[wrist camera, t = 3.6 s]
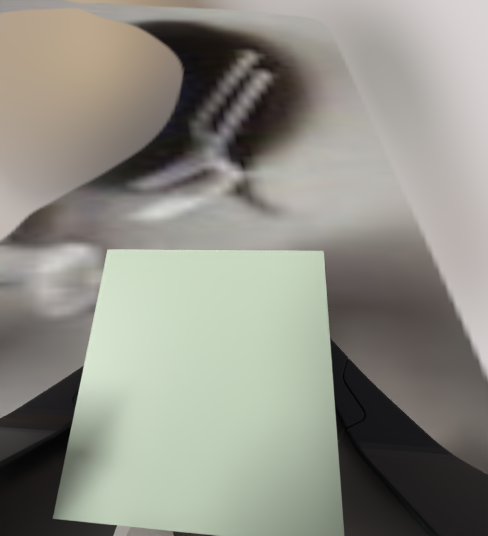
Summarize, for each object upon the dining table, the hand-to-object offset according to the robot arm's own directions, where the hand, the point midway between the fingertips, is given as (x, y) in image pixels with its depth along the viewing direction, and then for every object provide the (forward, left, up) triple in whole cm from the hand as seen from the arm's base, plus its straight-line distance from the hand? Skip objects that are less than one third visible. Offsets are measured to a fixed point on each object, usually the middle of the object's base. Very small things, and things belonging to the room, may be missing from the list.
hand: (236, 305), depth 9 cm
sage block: (-1, +1, -7) cm, 7 cm away
